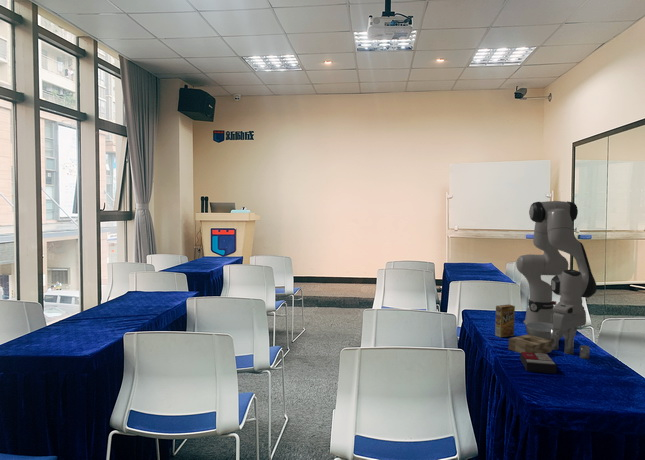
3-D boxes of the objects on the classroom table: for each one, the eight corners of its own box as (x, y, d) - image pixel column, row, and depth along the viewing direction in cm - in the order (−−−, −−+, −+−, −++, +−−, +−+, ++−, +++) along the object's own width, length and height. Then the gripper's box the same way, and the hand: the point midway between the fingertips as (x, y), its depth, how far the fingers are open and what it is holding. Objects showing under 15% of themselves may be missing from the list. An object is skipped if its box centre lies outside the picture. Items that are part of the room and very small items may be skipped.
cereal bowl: (528, 333, 237) (529, 320, 237) (565, 339, 228) (565, 325, 228) (522, 342, 223) (523, 327, 223) (561, 348, 214) (562, 333, 214)
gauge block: (527, 344, 219) (527, 334, 219) (551, 351, 209) (551, 340, 208) (508, 349, 212) (508, 338, 211) (532, 357, 201) (532, 345, 201)
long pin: (567, 351, 209) (568, 320, 209) (574, 353, 206) (576, 322, 206) (562, 352, 208) (563, 321, 207) (570, 355, 205) (571, 323, 204)
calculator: (547, 353, 197) (556, 363, 182) (547, 363, 197) (556, 374, 182) (519, 350, 199) (526, 360, 185) (519, 360, 199) (526, 371, 185)
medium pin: (552, 347, 215) (553, 328, 215) (559, 349, 212) (560, 329, 212) (547, 348, 214) (548, 329, 213) (555, 350, 210) (556, 331, 210)
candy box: (500, 337, 230) (501, 307, 229) (494, 335, 233) (495, 305, 232) (514, 335, 233) (515, 305, 232) (507, 333, 237) (509, 304, 236)
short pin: (582, 355, 204) (583, 344, 203) (590, 358, 200) (591, 347, 200) (577, 357, 202) (578, 346, 201) (586, 359, 199) (586, 348, 198)
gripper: (576, 302, 214) (575, 332, 215) (550, 307, 203) (549, 338, 204) (590, 305, 208) (589, 335, 209) (564, 310, 198) (563, 342, 199)
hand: (569, 337), depth 207 cm, fingers closed on long pin, 4 cm apart
